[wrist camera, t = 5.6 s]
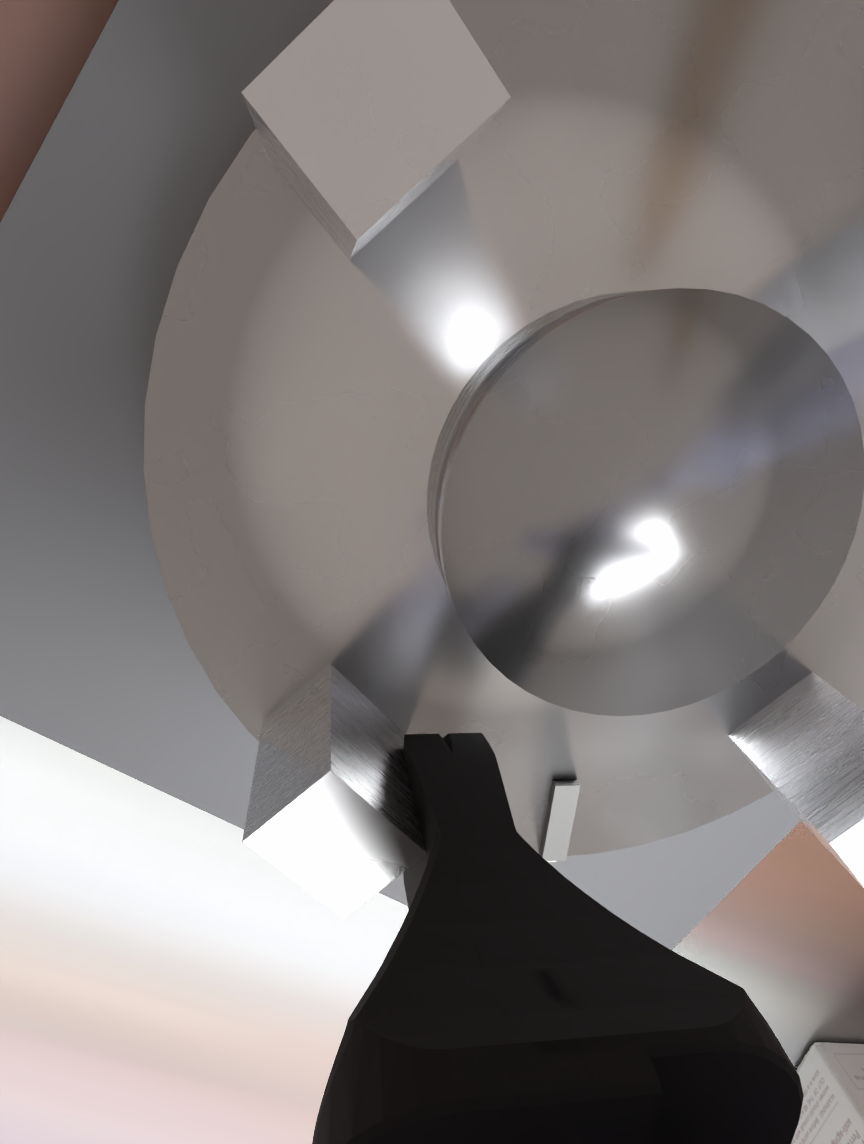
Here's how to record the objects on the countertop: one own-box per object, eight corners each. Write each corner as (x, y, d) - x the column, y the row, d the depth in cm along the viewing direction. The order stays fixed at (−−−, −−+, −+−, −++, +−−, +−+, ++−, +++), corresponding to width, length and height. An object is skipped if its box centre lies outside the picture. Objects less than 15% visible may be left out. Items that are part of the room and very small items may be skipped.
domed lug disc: (727, -310, 9) (1021, -771, 5) (1078, 511, 14) (1356, 585, 11) (-44, 442, 11) (-249, 514, 7) (515, 925, 16) (574, 1119, 12)
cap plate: (489, -610, 9) (516, -761, 8) (1192, 356, 15) (1270, 360, 14) (-164, 591, 13) (-218, 621, 12) (601, 963, 19) (620, 1009, 18)
